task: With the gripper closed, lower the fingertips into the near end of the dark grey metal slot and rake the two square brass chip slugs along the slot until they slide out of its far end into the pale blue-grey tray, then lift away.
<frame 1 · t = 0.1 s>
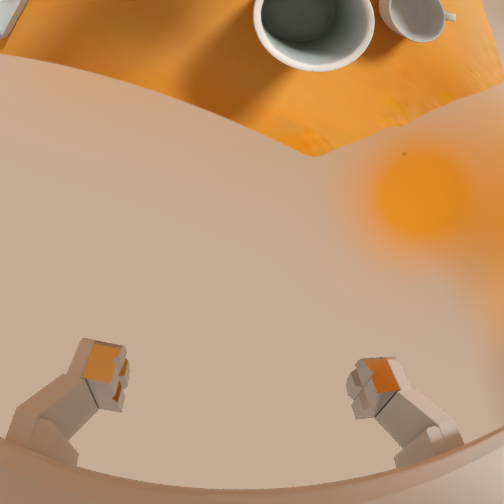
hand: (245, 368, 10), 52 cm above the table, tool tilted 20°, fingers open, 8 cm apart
tray: (5, 6, 27), on the table
utensil holder: (295, 9, 38), on the table
teacup: (406, 9, 35), on the table
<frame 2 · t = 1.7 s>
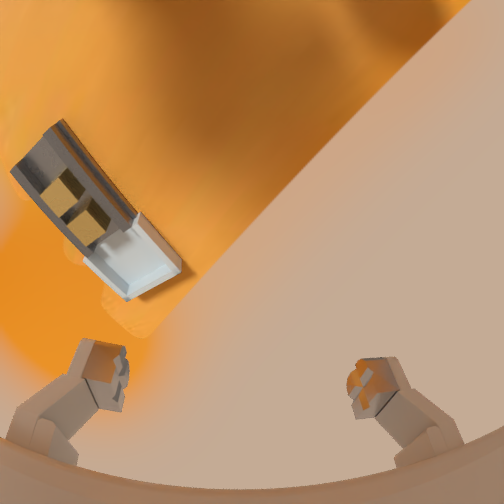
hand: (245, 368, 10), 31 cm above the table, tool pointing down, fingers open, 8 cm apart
tray: (133, 253, 44), on the table
chip a: (67, 185, 34), point 1 cm above the table, touching slot bed
slot bed: (74, 188, 35), on the table
chip b: (92, 214, 37), point 1 cm above the table, touching slot bed
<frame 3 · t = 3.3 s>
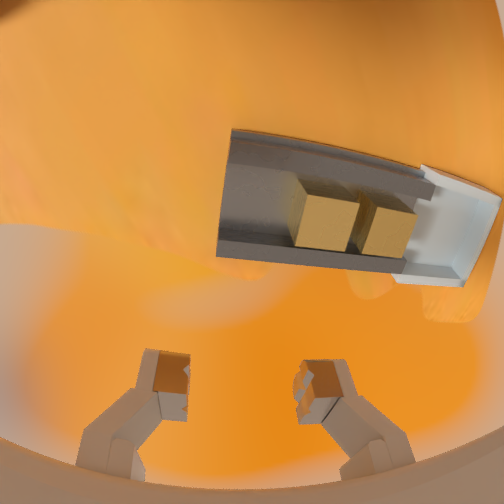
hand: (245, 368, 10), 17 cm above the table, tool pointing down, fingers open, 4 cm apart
tray: (439, 225, 27), on the table
chip a: (315, 205, 24), point 1 cm above the table, touching slot bed
slot bed: (323, 202, 25), on the table
chip b: (373, 215, 25), point 1 cm above the table, touching slot bed
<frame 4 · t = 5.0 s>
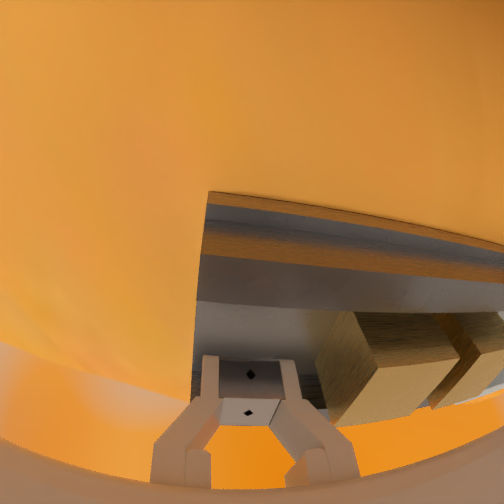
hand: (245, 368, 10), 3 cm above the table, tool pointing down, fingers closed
chip a: (369, 333, 13), point 1 cm above the table, touching slot bed
slot bed: (379, 318, 14), on the table
chip b: (450, 330, 13), point 1 cm above the table, touching slot bed
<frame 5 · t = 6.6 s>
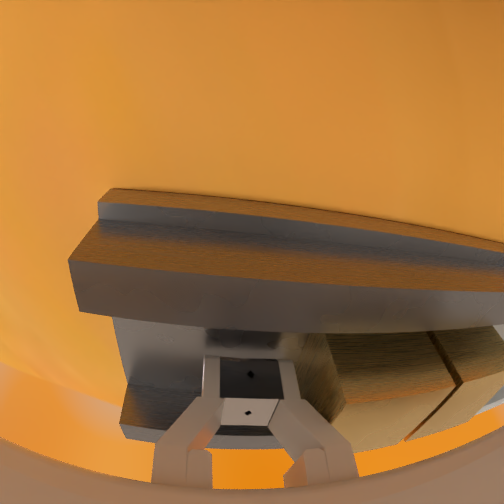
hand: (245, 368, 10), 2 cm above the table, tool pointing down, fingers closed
chip a: (350, 351, 11), point 1 cm above the table, touching gripper
slot bed: (341, 332, 12), on the table
chip b: (433, 345, 11), point 1 cm above the table, touching slot bed
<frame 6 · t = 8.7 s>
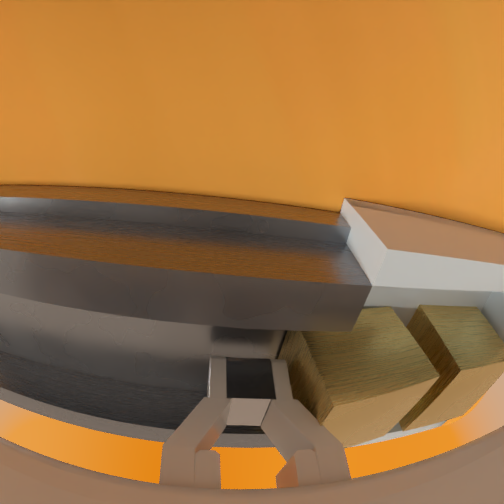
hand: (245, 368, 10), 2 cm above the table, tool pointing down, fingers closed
tray: (404, 330, 12), on the table
chip a: (328, 348, 11), point 1 cm above the table, tilted 8°, touching gripper, slot bed, tray
slot bed: (84, 310, 10), on the table
chip b: (429, 339, 12), point 1 cm above the table, touching tray
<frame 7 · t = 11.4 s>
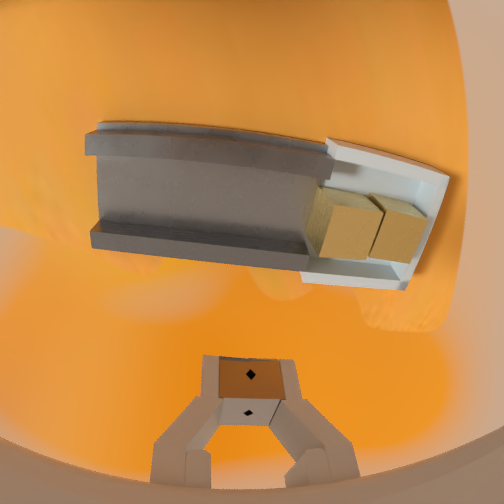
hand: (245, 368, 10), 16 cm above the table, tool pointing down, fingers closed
tray: (366, 213, 25), on the table
chip a: (334, 213, 24), point 1 cm above the table, tilted 6°, touching slot bed, tray
slot bed: (203, 189, 23), on the table
chip b: (382, 218, 24), point 1 cm above the table, touching tray
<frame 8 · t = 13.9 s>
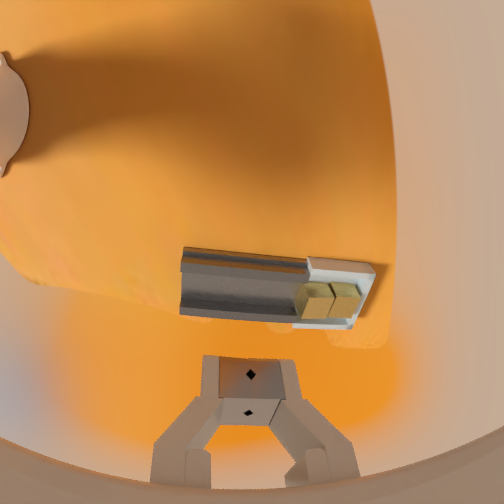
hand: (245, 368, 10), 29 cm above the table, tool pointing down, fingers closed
tray: (329, 289, 46), on the table
chip a: (310, 292, 45), point 1 cm above the table, tilted 6°, touching slot bed, tray
slot bed: (241, 282, 44), on the table
chip b: (337, 292, 46), point 1 cm above the table, touching tray
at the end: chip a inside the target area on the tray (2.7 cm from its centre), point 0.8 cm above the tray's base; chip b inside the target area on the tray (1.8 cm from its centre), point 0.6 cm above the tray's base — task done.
